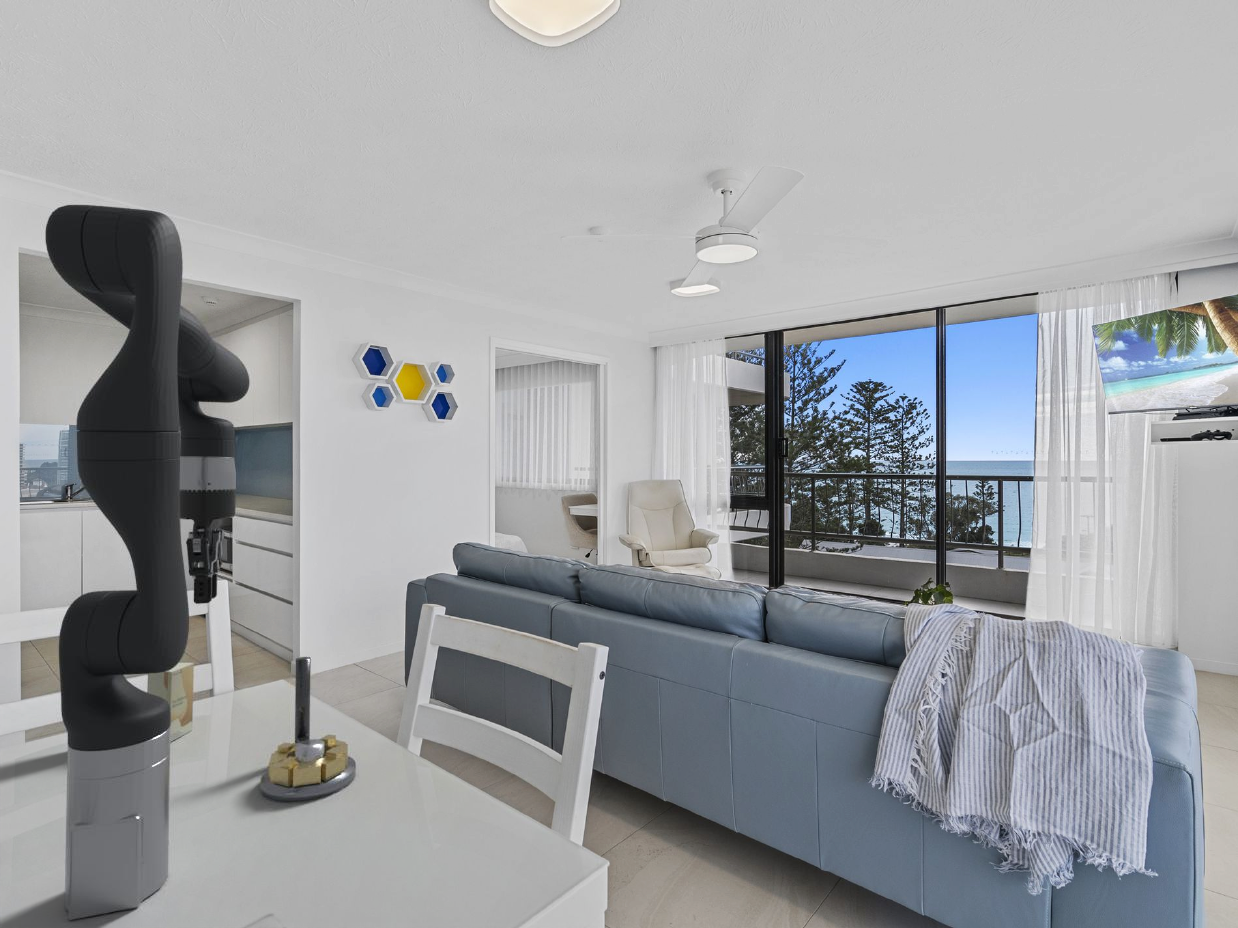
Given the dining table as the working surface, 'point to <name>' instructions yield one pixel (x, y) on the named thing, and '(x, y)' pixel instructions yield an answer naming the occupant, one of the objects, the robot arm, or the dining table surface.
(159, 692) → the skincare box
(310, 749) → the flange
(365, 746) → the dining table surface
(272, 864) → the dining table surface
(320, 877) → the dining table surface
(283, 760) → the lever crank
